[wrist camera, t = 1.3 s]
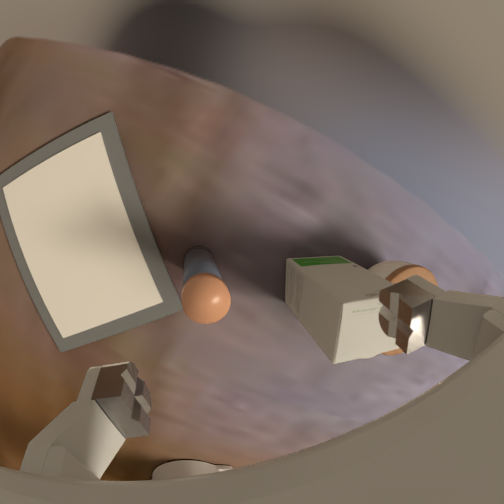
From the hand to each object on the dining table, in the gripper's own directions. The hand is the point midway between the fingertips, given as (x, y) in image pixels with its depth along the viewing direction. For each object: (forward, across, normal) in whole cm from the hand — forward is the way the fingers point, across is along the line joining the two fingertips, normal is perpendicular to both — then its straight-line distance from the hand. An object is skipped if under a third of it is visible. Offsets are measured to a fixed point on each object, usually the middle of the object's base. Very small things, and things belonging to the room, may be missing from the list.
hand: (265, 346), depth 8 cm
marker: (+26, -3, -6) cm, 27 cm away
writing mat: (+27, -18, 0) cm, 32 cm away
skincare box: (+27, +11, -13) cm, 31 cm away
